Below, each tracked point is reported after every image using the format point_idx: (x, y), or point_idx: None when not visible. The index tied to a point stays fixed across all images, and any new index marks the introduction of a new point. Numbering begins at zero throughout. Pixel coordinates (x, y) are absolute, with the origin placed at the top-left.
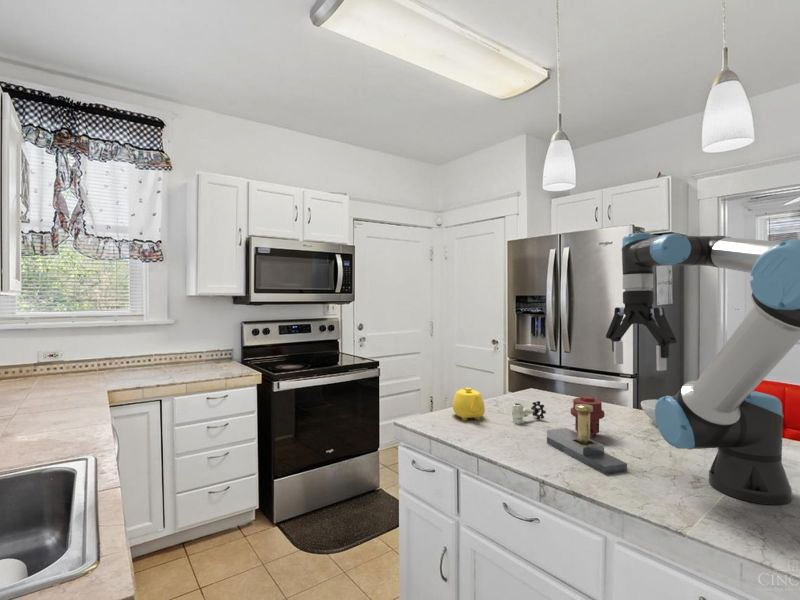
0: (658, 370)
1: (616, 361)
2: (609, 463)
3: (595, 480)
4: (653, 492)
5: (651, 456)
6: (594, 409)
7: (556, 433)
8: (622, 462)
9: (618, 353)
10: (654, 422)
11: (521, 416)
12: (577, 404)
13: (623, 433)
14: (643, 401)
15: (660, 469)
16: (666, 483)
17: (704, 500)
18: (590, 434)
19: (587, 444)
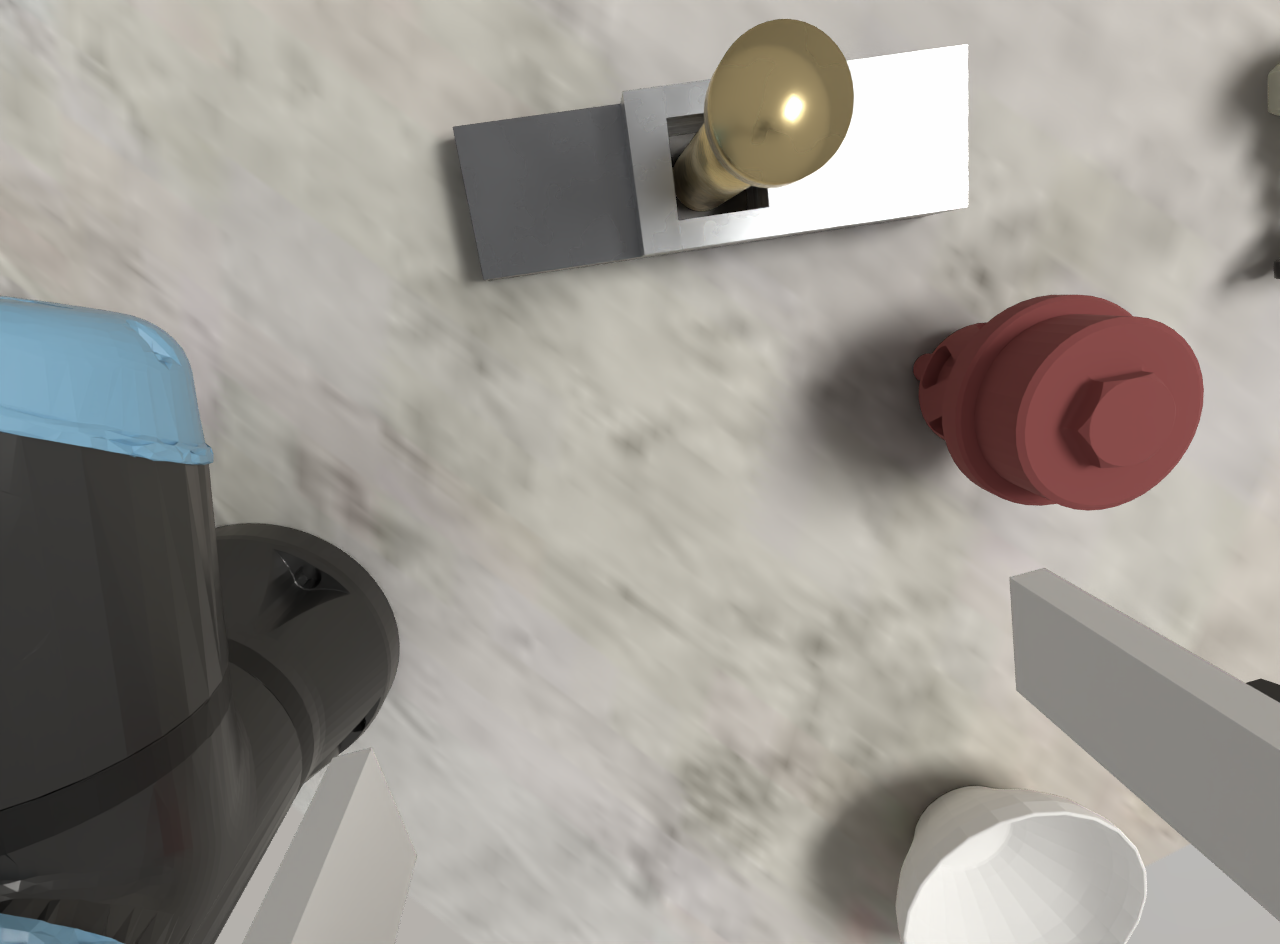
0: (341, 756)
1: (1036, 601)
2: (492, 183)
3: (397, 37)
4: (253, 242)
5: (637, 512)
6: (993, 408)
7: (891, 73)
8: (497, 263)
9: (1142, 714)
10: (987, 788)
11: None
12: (837, 69)
13: (933, 580)
14: (1135, 856)
15: (491, 449)
16: (343, 369)
17: None
18: (924, 371)
19: (683, 167)
